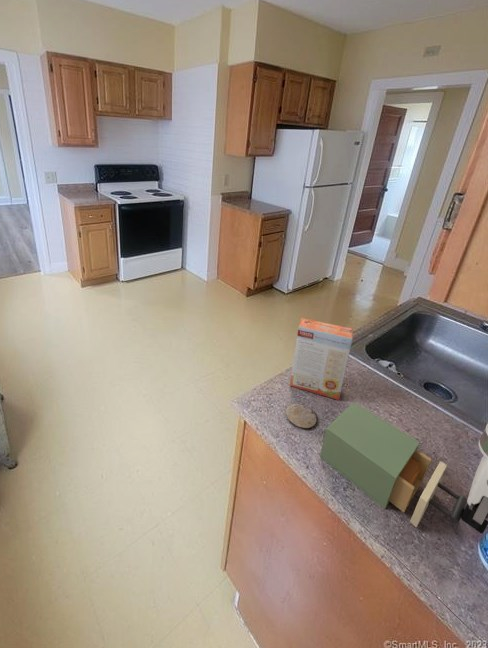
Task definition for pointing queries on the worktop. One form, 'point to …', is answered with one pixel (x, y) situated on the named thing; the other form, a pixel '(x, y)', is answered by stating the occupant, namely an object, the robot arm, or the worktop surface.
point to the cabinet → (367, 451)
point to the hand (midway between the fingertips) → (472, 523)
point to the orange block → (410, 471)
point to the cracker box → (321, 357)
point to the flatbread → (301, 415)
